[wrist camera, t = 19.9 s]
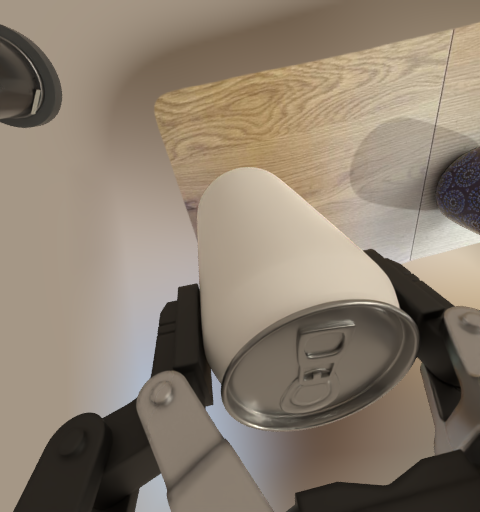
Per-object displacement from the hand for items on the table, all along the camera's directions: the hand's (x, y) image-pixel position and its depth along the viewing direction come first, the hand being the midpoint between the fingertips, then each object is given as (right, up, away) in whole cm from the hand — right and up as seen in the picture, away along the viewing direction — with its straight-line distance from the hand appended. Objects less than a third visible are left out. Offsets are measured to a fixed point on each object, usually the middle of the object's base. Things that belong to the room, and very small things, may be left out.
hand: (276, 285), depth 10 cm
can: (-1, +4, +7) cm, 8 cm away
